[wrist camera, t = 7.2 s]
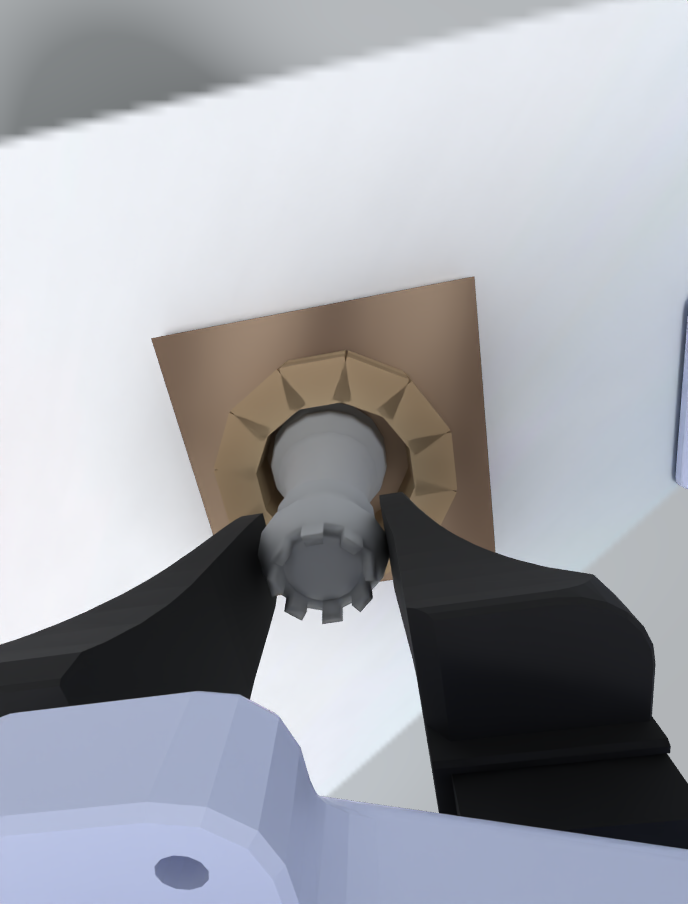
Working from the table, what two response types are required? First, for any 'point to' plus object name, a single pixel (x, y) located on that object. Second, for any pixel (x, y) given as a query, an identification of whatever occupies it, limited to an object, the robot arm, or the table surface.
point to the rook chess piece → (326, 512)
